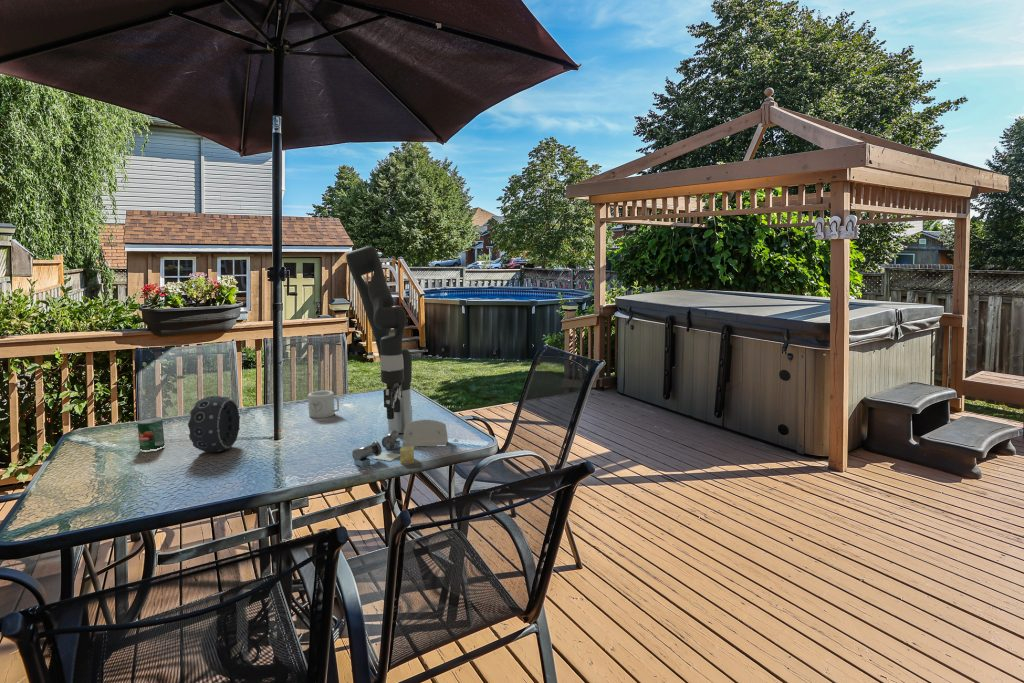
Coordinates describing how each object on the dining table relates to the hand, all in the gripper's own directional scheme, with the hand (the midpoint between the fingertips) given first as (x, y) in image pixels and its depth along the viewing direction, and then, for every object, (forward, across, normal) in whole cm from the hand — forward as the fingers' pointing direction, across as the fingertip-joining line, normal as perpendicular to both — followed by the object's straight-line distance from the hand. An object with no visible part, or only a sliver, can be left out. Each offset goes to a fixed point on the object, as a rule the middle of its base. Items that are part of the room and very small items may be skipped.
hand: (394, 415), depth 197 cm
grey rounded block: (+17, -21, +6) cm, 28 cm away
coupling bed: (+16, -6, -5) cm, 18 cm away
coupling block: (+17, -3, +3) cm, 17 cm away
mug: (+16, -59, -47) cm, 77 cm away
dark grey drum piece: (+16, -11, -69) cm, 71 cm away
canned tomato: (+16, -12, -94) cm, 96 cm away
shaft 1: (+17, 0, -10) cm, 19 cm away
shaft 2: (+16, -15, -5) cm, 23 cm away
